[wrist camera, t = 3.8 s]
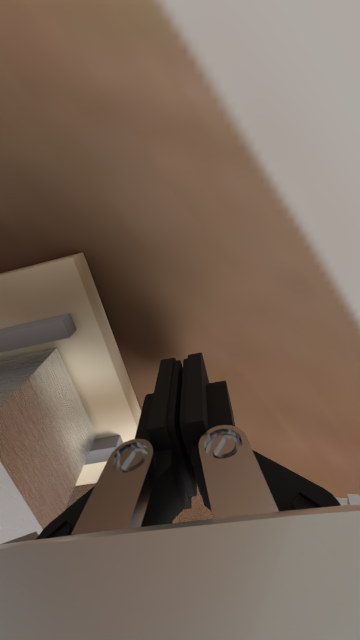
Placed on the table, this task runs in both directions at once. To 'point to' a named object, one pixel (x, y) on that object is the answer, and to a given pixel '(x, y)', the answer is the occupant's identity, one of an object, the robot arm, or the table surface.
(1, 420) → the knobbed grey slider
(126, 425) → the gauge bed
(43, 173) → the table surface
